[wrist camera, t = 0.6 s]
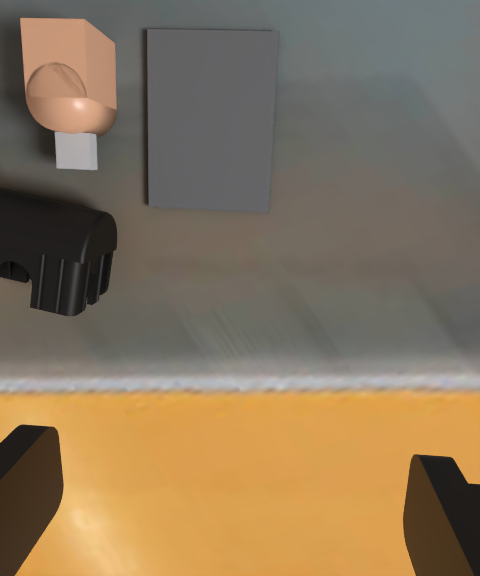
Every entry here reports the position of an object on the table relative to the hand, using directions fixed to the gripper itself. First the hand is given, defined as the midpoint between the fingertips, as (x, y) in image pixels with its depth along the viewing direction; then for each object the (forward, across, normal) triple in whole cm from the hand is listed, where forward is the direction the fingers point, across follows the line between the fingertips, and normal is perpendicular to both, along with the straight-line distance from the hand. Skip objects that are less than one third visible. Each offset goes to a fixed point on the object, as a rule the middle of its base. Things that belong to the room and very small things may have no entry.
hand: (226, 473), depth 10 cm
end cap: (+25, +17, -1) cm, 30 cm away
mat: (+25, +4, -10) cm, 27 cm away
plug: (+25, +13, -11) cm, 30 cm away
